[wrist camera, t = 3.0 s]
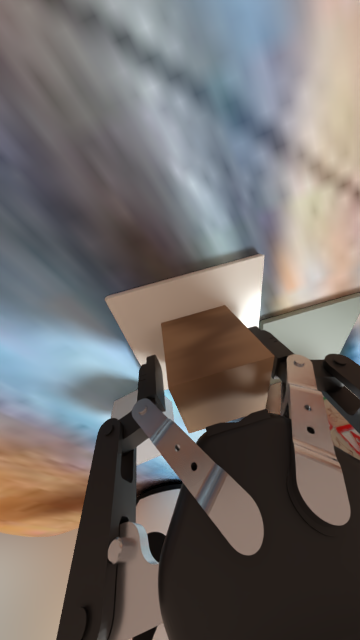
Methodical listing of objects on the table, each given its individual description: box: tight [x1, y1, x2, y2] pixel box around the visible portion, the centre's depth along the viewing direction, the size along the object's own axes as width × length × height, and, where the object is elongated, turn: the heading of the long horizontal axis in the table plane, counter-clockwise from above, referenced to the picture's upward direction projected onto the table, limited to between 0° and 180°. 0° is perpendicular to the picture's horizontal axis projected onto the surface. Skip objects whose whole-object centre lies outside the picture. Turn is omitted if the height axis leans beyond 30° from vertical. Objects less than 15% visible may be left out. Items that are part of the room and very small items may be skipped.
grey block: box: [111, 390, 174, 465], centre depth 17 cm, size 5×5×5 cm
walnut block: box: [161, 305, 275, 433], centre depth 12 cm, size 6×6×6 cm
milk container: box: [129, 484, 182, 640], centre depth 33 cm, size 17×17×18 cm
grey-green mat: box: [259, 292, 360, 385], centre depth 18 cm, size 11×11×1 cm
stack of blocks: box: [323, 396, 360, 460], centre depth 24 cm, size 21×6×12 cm, turn 7°
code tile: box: [105, 254, 264, 390], centre depth 14 cm, size 12×12×1 cm
